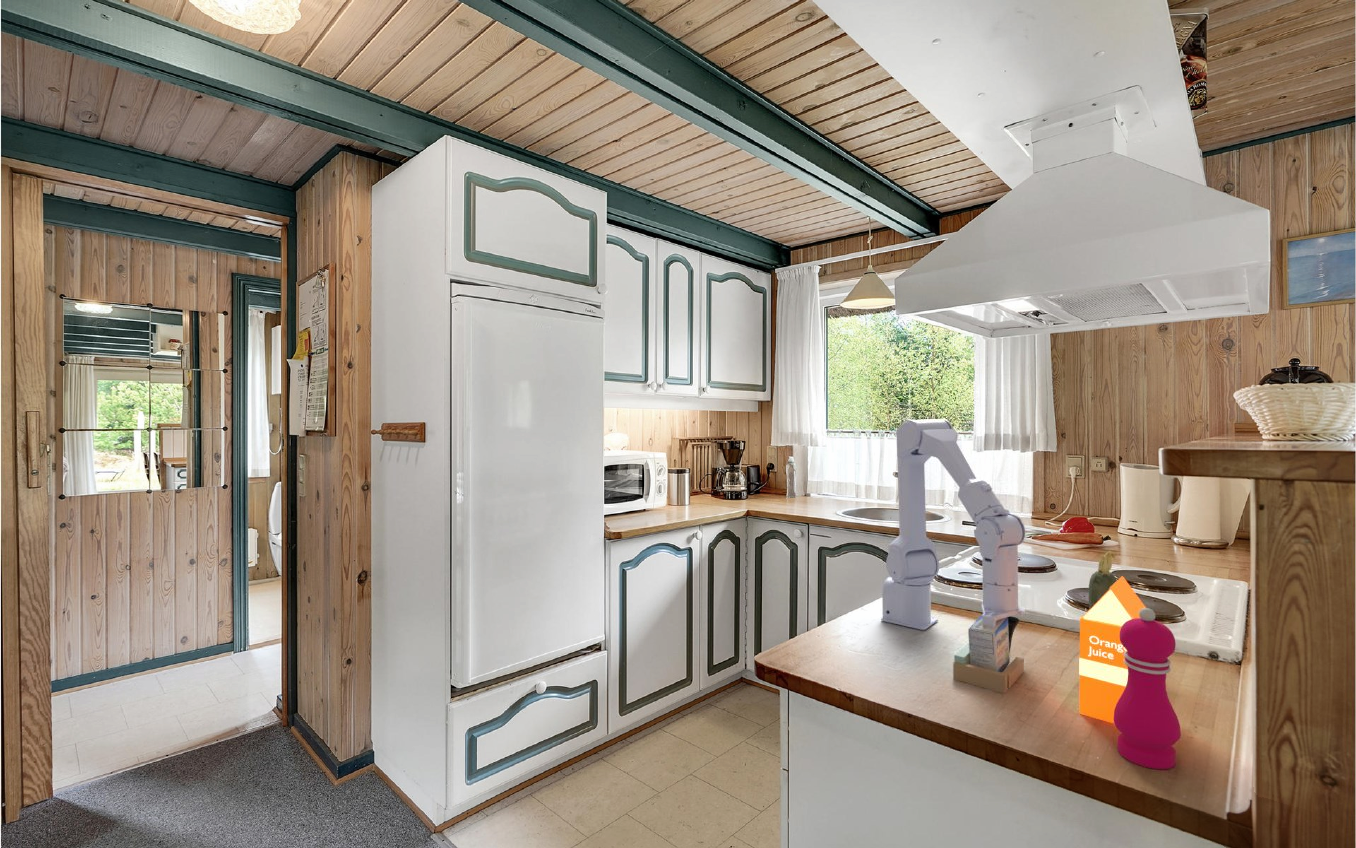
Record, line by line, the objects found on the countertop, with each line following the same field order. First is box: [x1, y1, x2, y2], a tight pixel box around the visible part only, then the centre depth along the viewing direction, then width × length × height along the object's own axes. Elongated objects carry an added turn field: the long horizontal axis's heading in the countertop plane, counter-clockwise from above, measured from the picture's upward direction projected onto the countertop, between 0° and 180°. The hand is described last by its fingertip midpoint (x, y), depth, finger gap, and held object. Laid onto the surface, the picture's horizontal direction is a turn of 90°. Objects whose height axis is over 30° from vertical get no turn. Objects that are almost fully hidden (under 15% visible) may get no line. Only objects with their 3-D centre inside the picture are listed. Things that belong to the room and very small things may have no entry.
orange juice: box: [1078, 575, 1147, 724], centre depth 97 cm, size 8×9×20 cm
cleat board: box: [952, 642, 1025, 694], centre depth 114 cm, size 8×21×4 cm, turn 138°
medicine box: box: [967, 613, 1011, 672], centre depth 112 cm, size 8×4×9 cm, turn 138°
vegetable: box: [1088, 550, 1118, 611], centre depth 117 cm, size 4×4×20 cm
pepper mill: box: [1113, 607, 1182, 770], centre depth 85 cm, size 7×7×20 cm
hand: (1000, 656), depth 115 cm, fingers closed, pressing on medicine box
